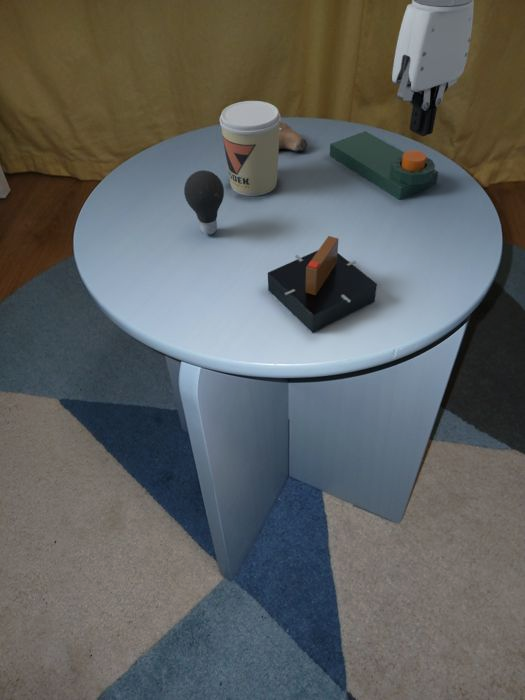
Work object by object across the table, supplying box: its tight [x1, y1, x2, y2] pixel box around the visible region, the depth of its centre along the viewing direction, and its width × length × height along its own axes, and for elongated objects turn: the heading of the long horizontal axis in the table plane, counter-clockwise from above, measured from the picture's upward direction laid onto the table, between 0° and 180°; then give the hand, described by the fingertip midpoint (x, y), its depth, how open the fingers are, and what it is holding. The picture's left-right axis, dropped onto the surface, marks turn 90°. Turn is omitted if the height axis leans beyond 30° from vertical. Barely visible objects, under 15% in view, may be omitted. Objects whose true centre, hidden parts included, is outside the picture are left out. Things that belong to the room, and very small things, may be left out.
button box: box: [329, 130, 439, 200], centre depth 93 cm, size 19×8×4 cm, turn 33°
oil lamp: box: [279, 121, 308, 152], centre depth 100 cm, size 9×4×8 cm
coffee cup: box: [219, 100, 282, 197], centre depth 88 cm, size 9×9×12 cm
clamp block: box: [267, 249, 378, 334], centre depth 72 cm, size 11×11×3 cm
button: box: [401, 149, 427, 171], centre depth 87 cm, size 4×4×2 cm
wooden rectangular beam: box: [306, 235, 339, 295], centre depth 69 cm, size 7×1×4 cm, turn 153°
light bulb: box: [183, 169, 225, 236], centre depth 80 cm, size 6×6×10 cm
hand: (420, 131), depth 83 cm, fingers closed
